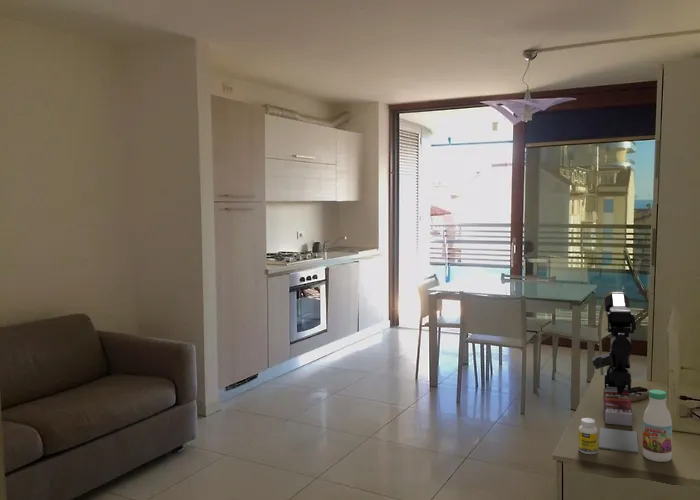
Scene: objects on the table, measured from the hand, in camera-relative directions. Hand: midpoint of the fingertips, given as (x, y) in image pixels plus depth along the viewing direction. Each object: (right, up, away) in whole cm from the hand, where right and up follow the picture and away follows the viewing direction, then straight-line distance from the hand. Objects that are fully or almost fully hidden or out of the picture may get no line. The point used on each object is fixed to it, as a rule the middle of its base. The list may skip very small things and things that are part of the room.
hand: (619, 394), depth 197 cm
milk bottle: (+3, -14, -19) cm, 24 cm away
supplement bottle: (-16, -15, -13) cm, 25 cm away
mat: (-3, -13, -6) cm, 15 cm away
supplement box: (+2, -10, +5) cm, 11 cm away
